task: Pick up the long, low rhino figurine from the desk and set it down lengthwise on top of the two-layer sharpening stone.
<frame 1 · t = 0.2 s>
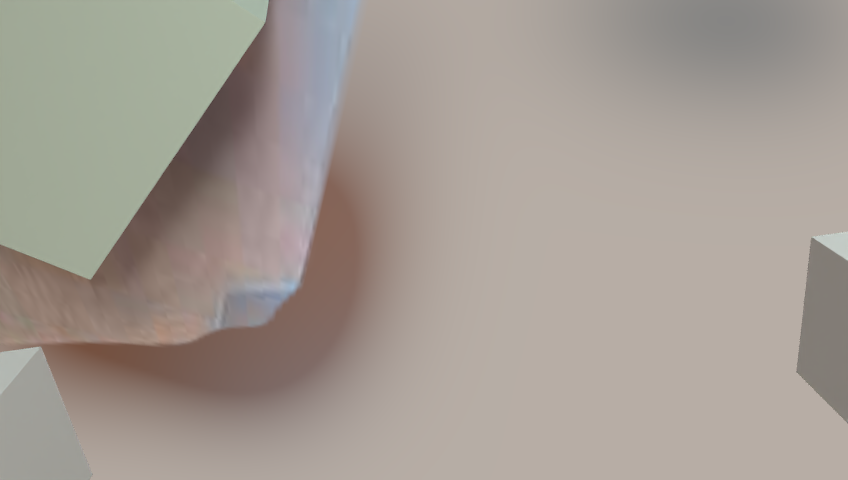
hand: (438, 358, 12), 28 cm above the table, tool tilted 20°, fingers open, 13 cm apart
two-layer sharpening stone: (99, 44, 36), on the table
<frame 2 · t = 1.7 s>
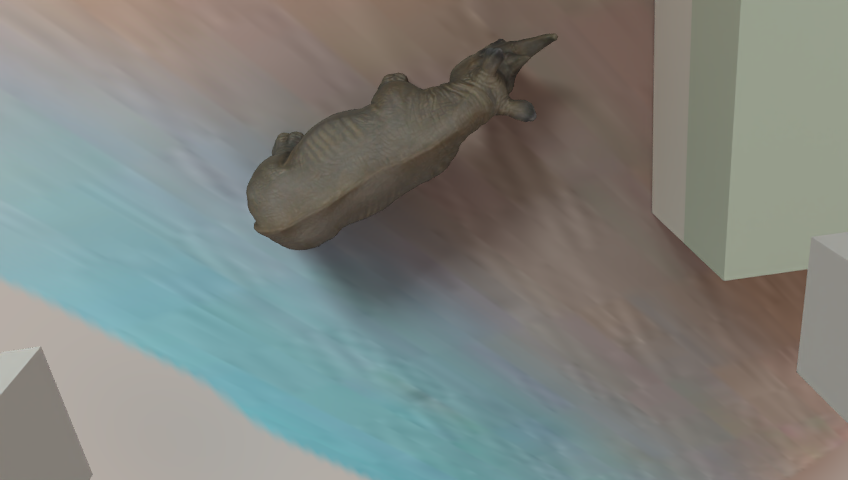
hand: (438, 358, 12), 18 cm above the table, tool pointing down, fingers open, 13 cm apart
rhino figurine: (396, 116, 29), on the table
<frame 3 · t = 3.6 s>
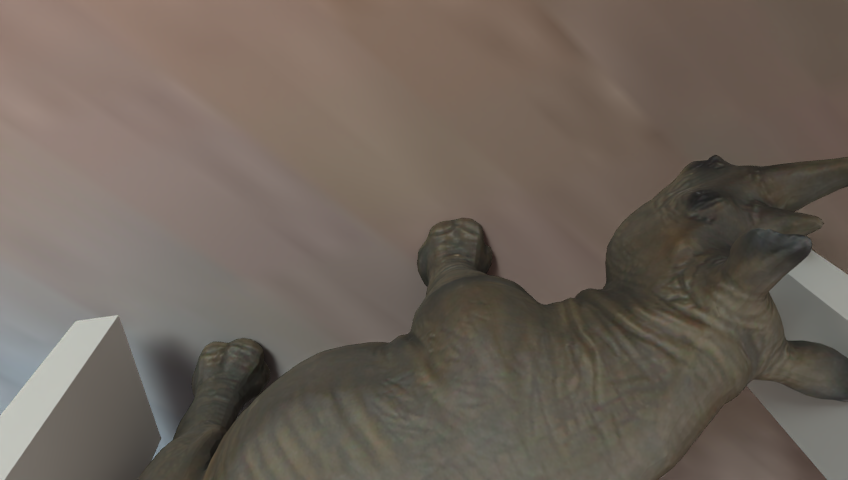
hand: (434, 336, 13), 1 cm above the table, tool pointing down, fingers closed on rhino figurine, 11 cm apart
rhino figurine: (456, 299, 14), on the table, touching gripper
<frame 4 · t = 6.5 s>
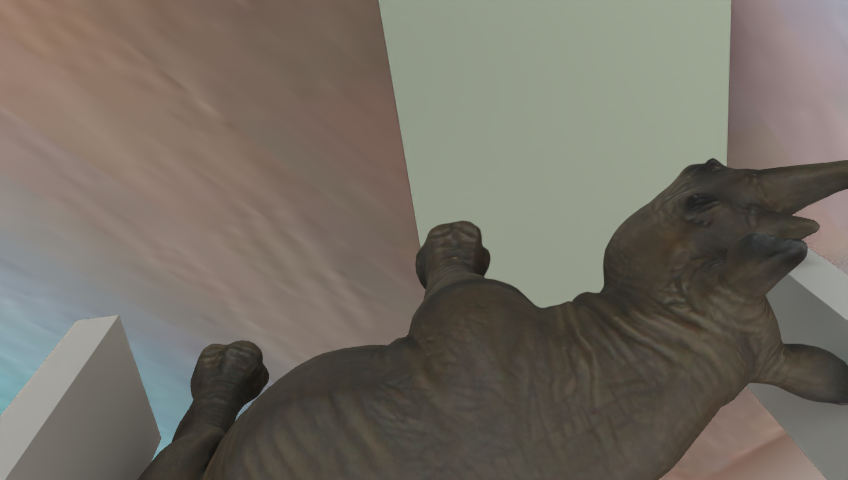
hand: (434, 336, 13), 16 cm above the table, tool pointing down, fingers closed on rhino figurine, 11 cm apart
rhino figurine: (454, 301, 14), point 15 cm above the table, touching gripper
two-layer sharpening stone: (519, 70, 27), on the table
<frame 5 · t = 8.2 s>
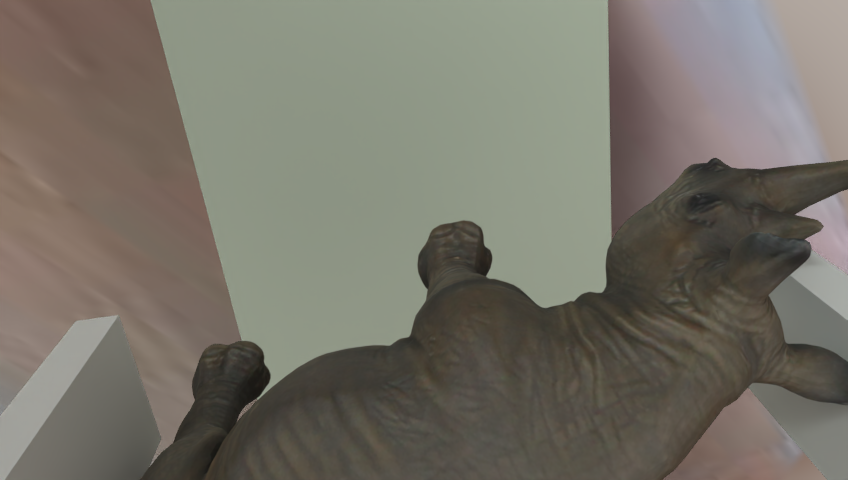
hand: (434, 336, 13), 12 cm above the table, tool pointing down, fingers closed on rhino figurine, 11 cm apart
rhino figurine: (456, 301, 14), point 11 cm above the table, touching gripper
two-layer sharpening stone: (403, 151, 24), on the table
when the fingers open (9 cm above the table, at t = 9.5 s): rhino figurine stays where it is, resting on two-layer sharpening stone.
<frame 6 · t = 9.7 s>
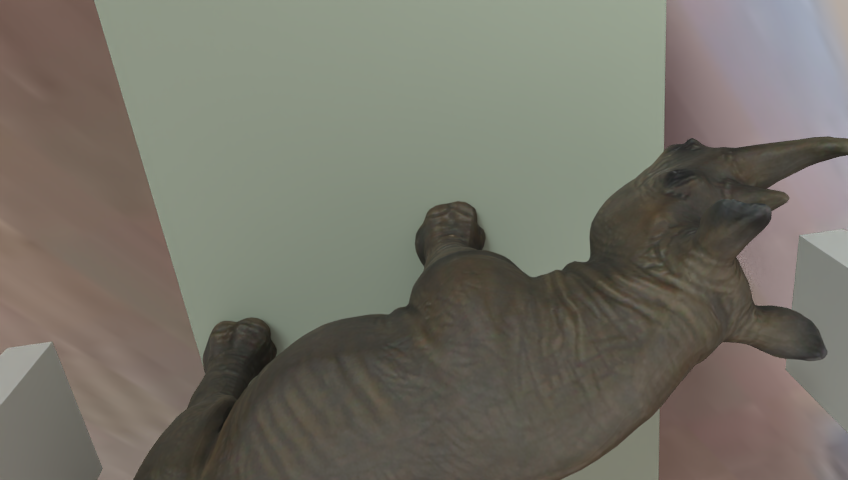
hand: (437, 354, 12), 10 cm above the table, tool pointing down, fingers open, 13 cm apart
rhino figurine: (452, 279, 15), point 7 cm above the table, touching two-layer sharpening stone
two-layer sharpening stone: (410, 183, 21), on the table
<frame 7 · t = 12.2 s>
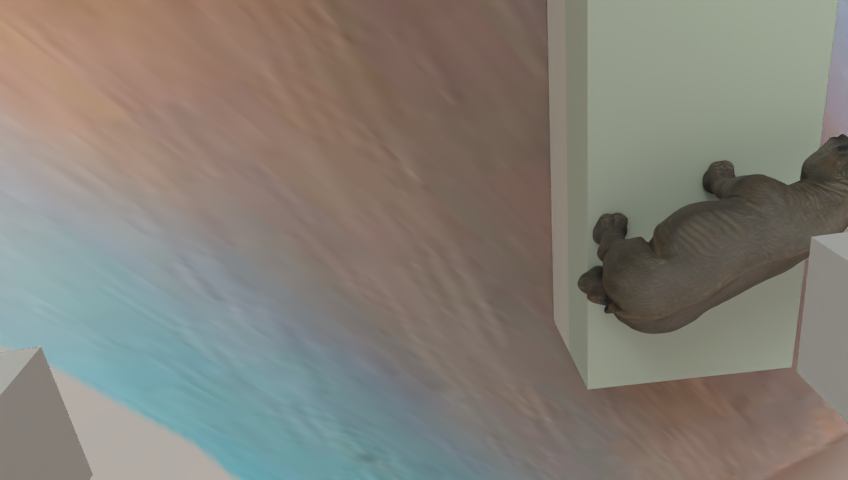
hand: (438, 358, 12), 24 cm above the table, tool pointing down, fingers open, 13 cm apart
rhino figurine: (711, 200, 30), point 7 cm above the table, touching two-layer sharpening stone
two-layer sharpening stone: (643, 160, 36), on the table
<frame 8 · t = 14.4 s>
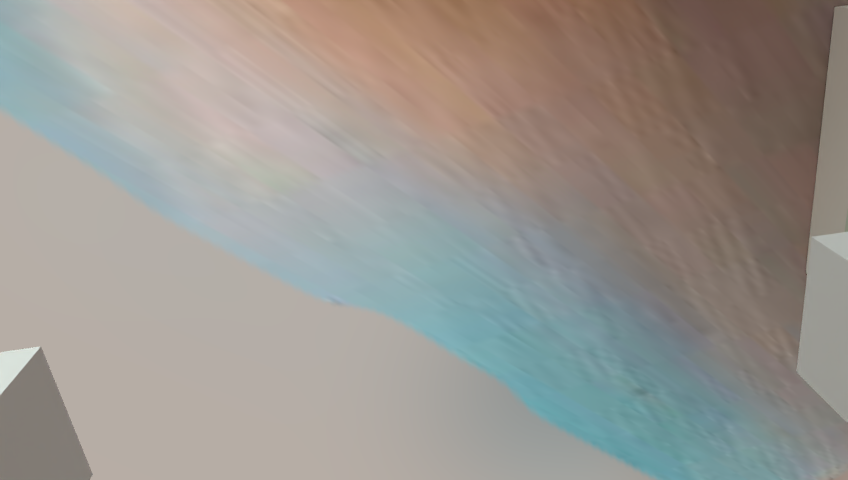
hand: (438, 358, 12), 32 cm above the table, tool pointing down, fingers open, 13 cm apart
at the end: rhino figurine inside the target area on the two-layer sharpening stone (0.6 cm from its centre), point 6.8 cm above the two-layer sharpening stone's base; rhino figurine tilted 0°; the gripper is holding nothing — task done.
